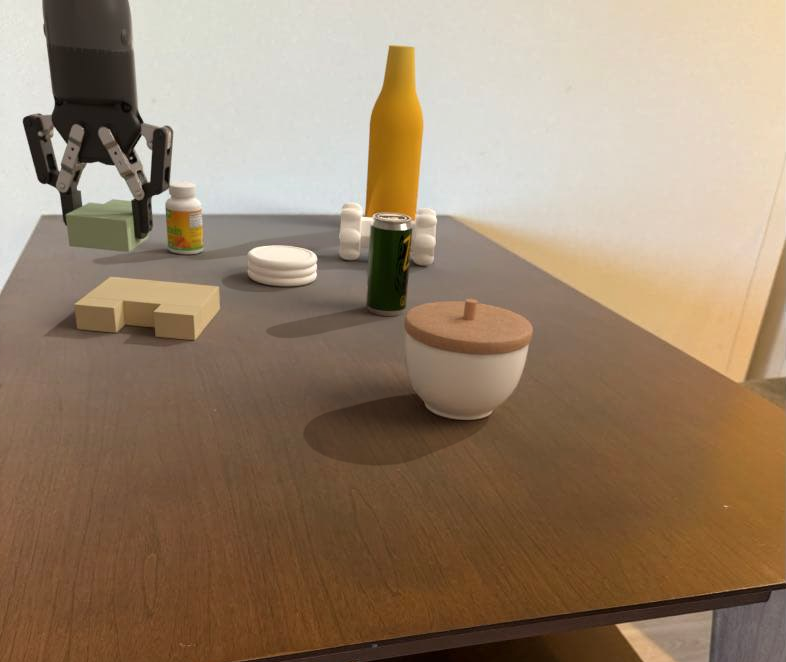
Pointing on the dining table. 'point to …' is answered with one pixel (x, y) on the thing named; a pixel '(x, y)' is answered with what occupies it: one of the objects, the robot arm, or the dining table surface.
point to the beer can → (388, 263)
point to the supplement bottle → (184, 219)
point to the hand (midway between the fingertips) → (109, 233)
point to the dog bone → (358, 233)
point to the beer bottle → (395, 139)
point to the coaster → (282, 265)
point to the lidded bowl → (465, 356)
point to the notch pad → (148, 307)
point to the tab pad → (103, 226)
